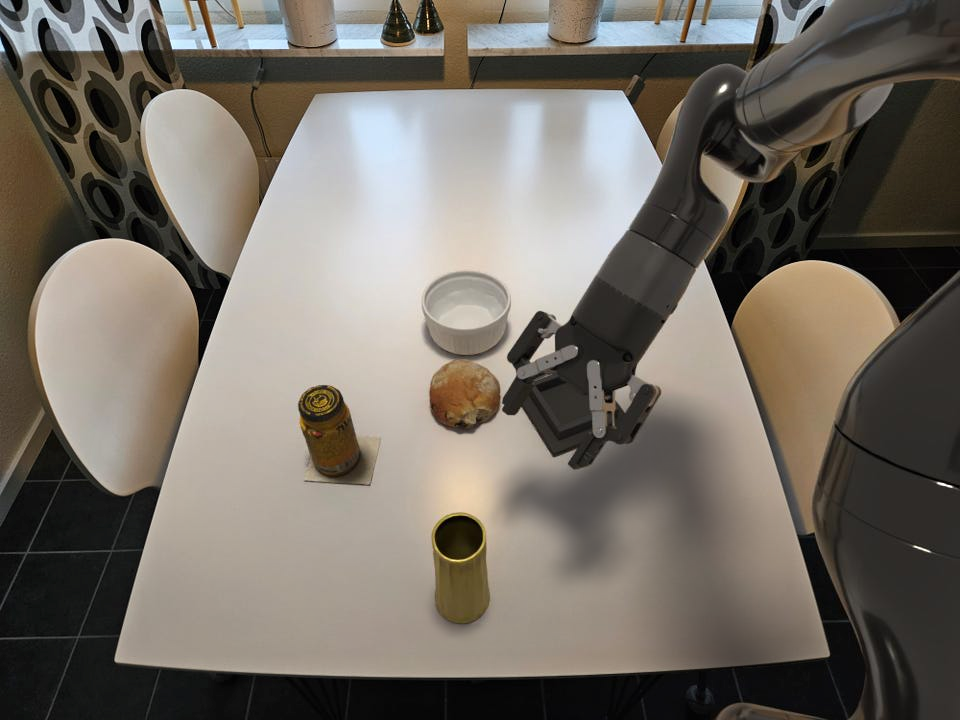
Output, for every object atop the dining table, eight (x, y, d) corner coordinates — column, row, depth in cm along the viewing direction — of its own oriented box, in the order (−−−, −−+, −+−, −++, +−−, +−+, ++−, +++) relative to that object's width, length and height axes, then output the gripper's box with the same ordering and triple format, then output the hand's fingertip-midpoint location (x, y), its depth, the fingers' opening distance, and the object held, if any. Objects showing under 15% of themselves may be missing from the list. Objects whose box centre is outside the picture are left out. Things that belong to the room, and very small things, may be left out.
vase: (499, 586, 73) (502, 525, 62) (471, 635, 69) (469, 579, 58) (453, 560, 75) (448, 497, 64) (424, 606, 71) (413, 547, 61)
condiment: (318, 434, 87) (299, 376, 78) (381, 438, 86) (368, 380, 77) (304, 481, 82) (282, 424, 73) (370, 486, 81) (356, 429, 72)
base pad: (631, 426, 87) (635, 413, 85) (553, 457, 84) (555, 444, 82) (586, 366, 95) (588, 352, 93) (512, 392, 91) (513, 378, 89)
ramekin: (414, 312, 103) (410, 279, 97) (492, 294, 105) (493, 260, 100) (438, 371, 94) (435, 338, 89) (522, 349, 97) (524, 316, 92)
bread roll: (504, 409, 94) (512, 359, 91) (485, 442, 85) (493, 388, 82) (440, 393, 96) (446, 344, 93) (415, 424, 87) (420, 370, 84)
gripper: (556, 247, 58) (468, 396, 62) (690, 329, 52) (582, 490, 55) (588, 265, 65) (506, 398, 68) (710, 339, 58) (612, 483, 62)
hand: (540, 439), depth 62 cm, fingers open, 8 cm apart
